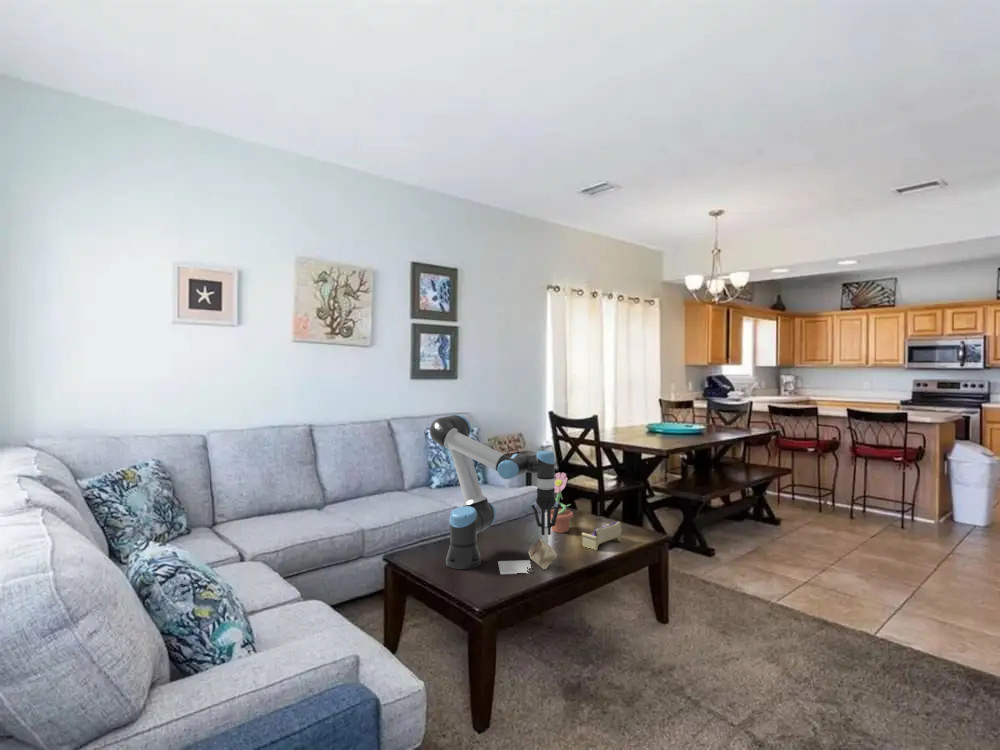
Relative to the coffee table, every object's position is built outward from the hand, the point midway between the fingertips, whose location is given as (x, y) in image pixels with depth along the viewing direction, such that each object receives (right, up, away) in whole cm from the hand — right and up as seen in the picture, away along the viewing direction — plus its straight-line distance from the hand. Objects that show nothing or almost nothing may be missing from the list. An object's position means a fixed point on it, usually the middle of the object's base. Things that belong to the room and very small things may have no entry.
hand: (545, 542), depth 239 cm
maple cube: (+1, -7, 0) cm, 8 cm away
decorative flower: (+11, -9, +49) cm, 51 cm away
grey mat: (-13, -11, -1) cm, 17 cm away
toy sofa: (+29, -10, +29) cm, 42 cm away
